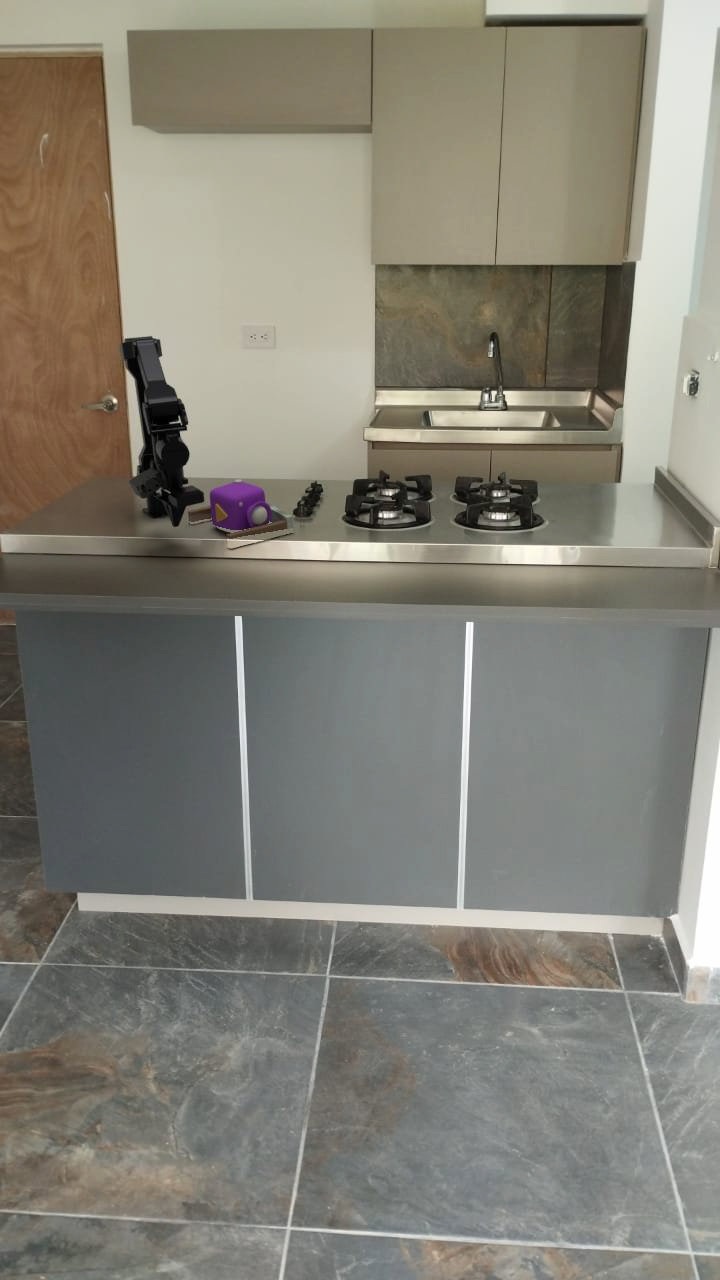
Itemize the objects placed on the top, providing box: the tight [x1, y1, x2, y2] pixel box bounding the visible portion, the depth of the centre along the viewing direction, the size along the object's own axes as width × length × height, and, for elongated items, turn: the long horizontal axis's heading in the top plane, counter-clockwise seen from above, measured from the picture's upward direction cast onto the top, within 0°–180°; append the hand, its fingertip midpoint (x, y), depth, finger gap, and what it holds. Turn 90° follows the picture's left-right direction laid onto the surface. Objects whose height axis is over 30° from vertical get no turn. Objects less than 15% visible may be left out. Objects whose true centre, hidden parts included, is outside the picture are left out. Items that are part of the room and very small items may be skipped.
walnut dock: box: [187, 501, 294, 539], centre depth 239 cm, size 20×16×4 cm
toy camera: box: [209, 478, 271, 530], centre depth 237 cm, size 11×14×10 cm
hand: (175, 526), depth 230 cm, fingers closed
